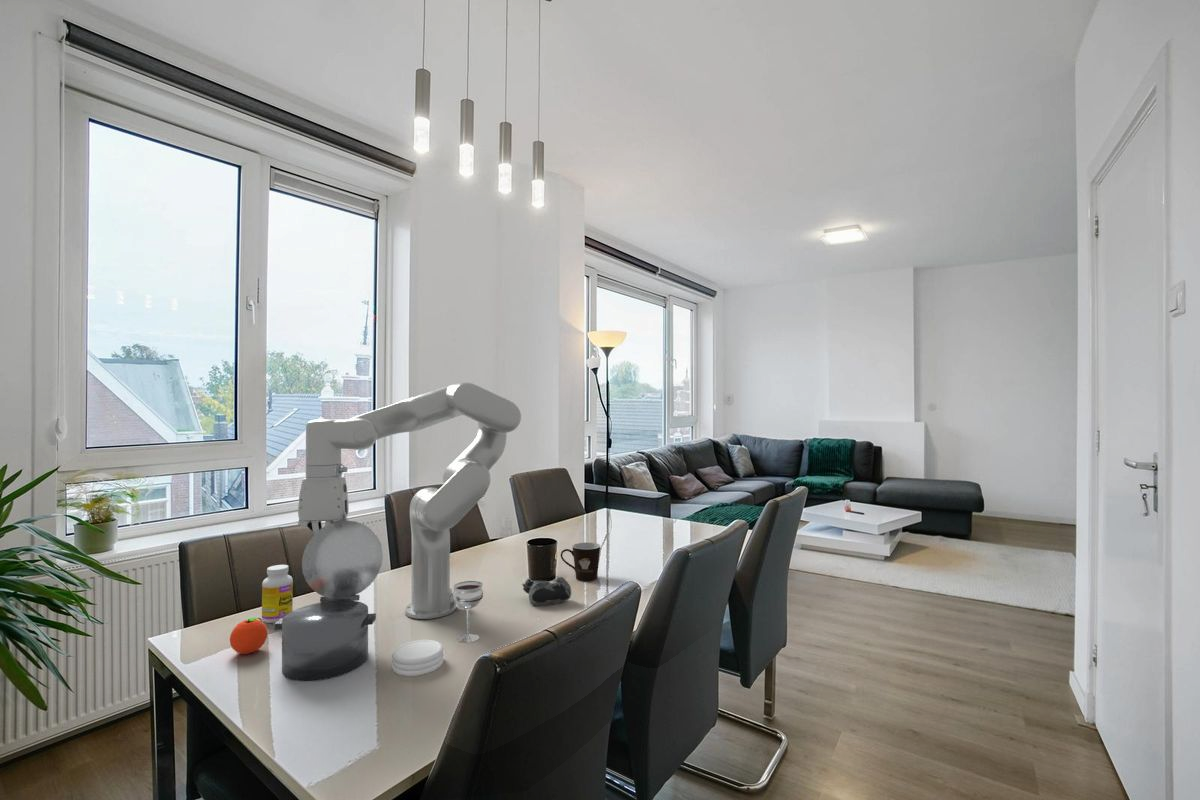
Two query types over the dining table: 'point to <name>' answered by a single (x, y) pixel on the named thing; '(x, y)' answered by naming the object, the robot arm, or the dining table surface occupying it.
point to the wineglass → (468, 603)
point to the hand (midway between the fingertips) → (323, 549)
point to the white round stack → (417, 657)
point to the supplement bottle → (277, 594)
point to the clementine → (248, 636)
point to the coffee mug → (585, 560)
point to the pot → (324, 639)
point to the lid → (342, 560)
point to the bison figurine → (547, 591)
